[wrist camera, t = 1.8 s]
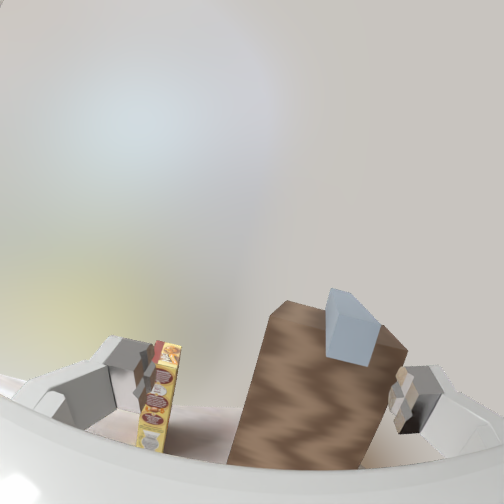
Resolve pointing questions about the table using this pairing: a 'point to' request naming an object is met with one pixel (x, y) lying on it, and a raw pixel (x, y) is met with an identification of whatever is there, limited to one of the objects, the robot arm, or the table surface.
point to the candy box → (159, 398)
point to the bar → (349, 329)
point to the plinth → (312, 397)
